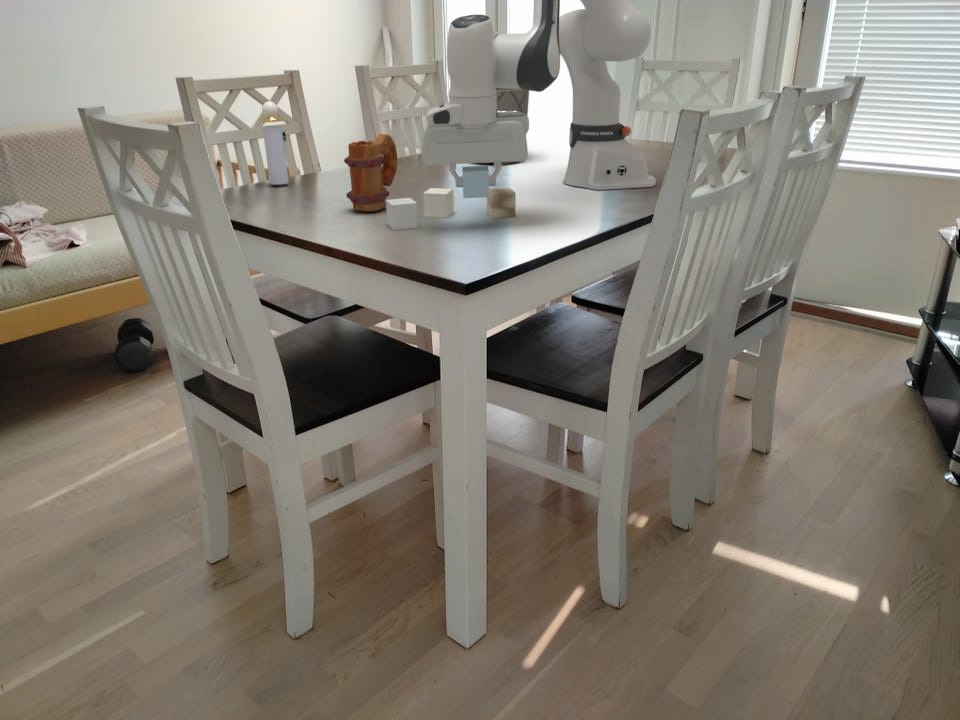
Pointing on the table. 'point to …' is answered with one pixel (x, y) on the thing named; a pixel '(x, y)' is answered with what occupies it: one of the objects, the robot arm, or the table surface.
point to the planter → (512, 102)
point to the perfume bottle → (274, 145)
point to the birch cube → (501, 203)
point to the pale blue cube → (475, 181)
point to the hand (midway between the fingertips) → (475, 186)
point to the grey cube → (402, 213)
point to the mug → (371, 172)
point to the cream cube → (438, 202)
